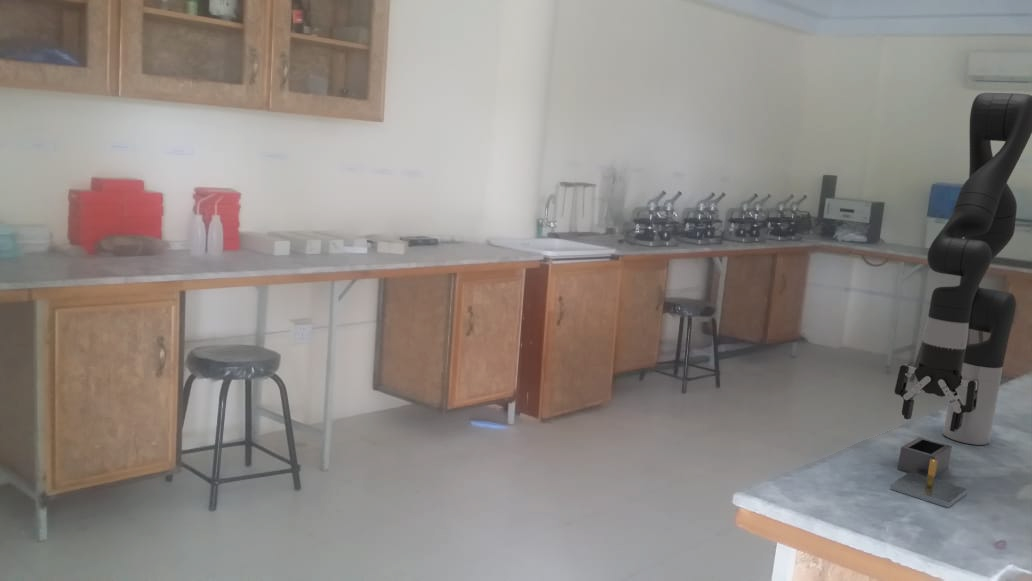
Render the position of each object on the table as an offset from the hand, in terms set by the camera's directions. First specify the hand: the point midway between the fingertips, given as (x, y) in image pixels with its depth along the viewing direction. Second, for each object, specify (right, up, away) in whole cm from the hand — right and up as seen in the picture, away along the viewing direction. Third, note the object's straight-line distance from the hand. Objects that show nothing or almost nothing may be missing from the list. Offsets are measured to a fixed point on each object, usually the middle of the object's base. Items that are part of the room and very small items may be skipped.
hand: (929, 424), depth 172 cm
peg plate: (-5, -11, -10) cm, 16 cm away
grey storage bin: (-1, -9, +2) cm, 9 cm away
